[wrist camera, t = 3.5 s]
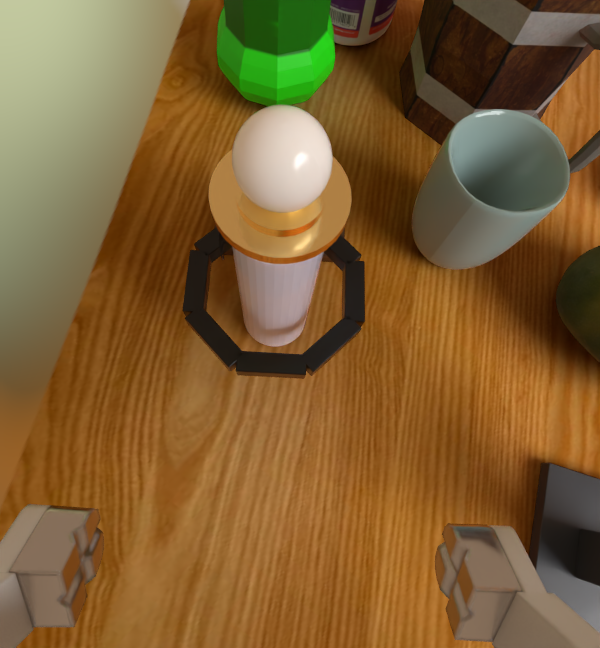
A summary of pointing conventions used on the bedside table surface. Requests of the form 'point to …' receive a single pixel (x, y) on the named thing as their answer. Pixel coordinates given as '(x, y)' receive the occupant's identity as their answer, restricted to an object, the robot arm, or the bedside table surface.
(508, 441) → the bedside table surface
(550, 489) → the pedestal tray stand
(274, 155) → the perfume bottle
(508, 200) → the cup
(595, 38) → the mug
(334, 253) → the ring stand
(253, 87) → the plastic bottle
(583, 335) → the fruit
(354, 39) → the pill bottle
